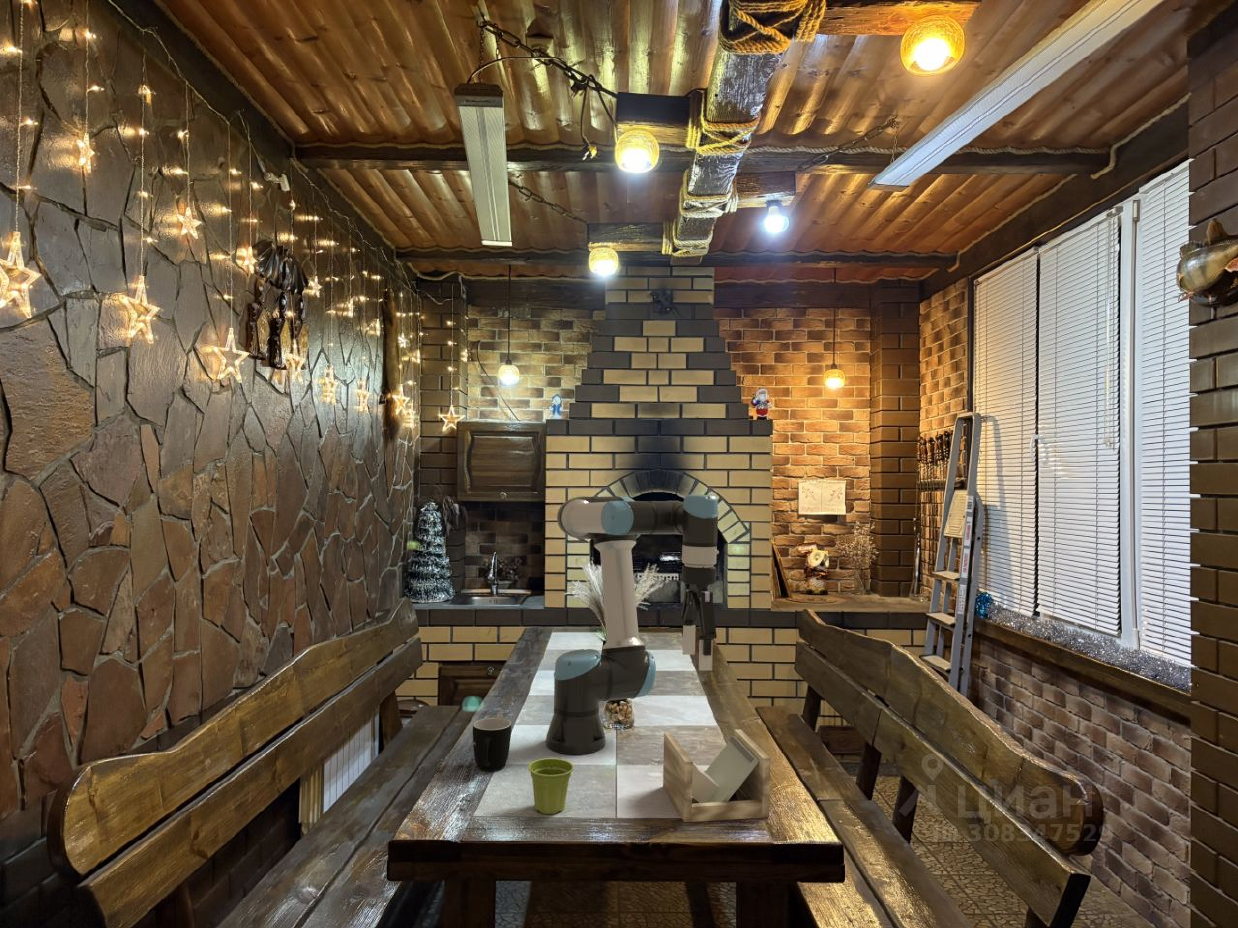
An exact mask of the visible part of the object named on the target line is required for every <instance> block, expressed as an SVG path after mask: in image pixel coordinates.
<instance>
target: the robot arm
mask: <svg viewBox="0 0 1238 928" xmlns="http://www.w3.org/2000/svg"><path fill="white" fill-rule="evenodd" d="M718 505H719V503H718V498H717V497H716V496H715V495H711V494H686V495H685V496H684V498H683V501H680V500H672V499H671V500H667V501H666V500H663V501H661V500H657V501H656V500H650V501H649V500H648V501H644V500H643V501H642V500H641V501H639V500H634V499H633V498H631V497H628V496H627V497H623V496H619V495H616V496H577V497H573V498H570V499H567V500H566V501H565V502H564V503H562V505H560V507H559V509H558V510H557V516H556V520H557V522H556V523H557V525H558V527H559V529H560V530H561V531H562V532H563V533H564V534H565V535H567V536H569V537H572V538H575V539H581V540H593V546H594V548H595V549H596V550H597V551H599V553H600V565H601V566H600V569H601V579H602V580H601V581H602V593H603V595H602V596H603V603H604V605H603V606H604V620H605V630H606V631H605V632H606V633H605V634H606V641H605V642H606V643H605V644H604V645H603V646H602V647H601V653H600V651H599V650H596V649H593V648H588V649H585V648H582V649H580V648H579V649H575V650H571V651H567V652H564V653H562V654H561V655H560V656H558V657H557V659H556V660H555V665H554V673H553V679H554V685H553V686H554V687H553V715H552V718H551V721H550V724H549V725H548V729H547V732H546V740H545V741H546V742H545V745H546V747H547V748H548V749H550V750H551V751H553V752H556V753H559V754H560V753H561V754H566V755H585V754H591V753H595V752H598V751H601V750H602V749H603V748H604V747H605V746H606V735H605V734H606V733H605V731H604V727H603V724H602V719H601V717H600V702H609V701H610V702H611V701H618V700H619V701H620V700H628V699H629V700H630V699H631V700H634V699H636V698H642V697H646V696H647V695H648V694H650V692H651V691H652V689H653V687H654V685H655V682H656V677H657V676H656V674H657V665H656V661H655V659H654V655H653V654H652V652H650V651H648V650H647V649H646V643H645V642H643V641H642V640H641V639H640V635H639V624H638V613H637V601H636V590H635V579H634V569H633V568H634V567H633V555H632V549H633V548H634V546H636V544H637V538H639V537H640V536H641V535H682V548H681V549H682V550H681V562H682V563H683V564H684V565H682V566H681V581H682V582H683V584H684V596H683V600H682V606H681V612H680V614H681V615H680V620H681V621H682V625H683V626H682V630H683V631H682V655H684V656H685V655H686V656H687V655H690V656H691V655H693V656H694V655H695V654H696V627H697V626H696V625H697V624H698V627H699V633H700V635H698V637H697V641H699V644H698V645H699V646H698V671H700V672H701V671H713V653H714V652H713V650H714V649H713V648H714V647H713V646H714V643H713V641H714V639H717V627H716V618H715V609H714V593H713V592H714V591H709V590H708V589H709V588H708V586H710V585H715V583H717V567H716V566H714V565H716V564H717V555H719V553H720V551H719V550H718V549H717V548H718V547H717V546H718V532H719V531H718V526H719V525H718V524H719V510H718V508H719V507H718ZM696 618H697V619H696Z"/></svg>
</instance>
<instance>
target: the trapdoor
mask: <svg viewBox="0 0 1238 928" xmlns="http://www.w3.org/2000/svg"><path fill="white" fill-rule="evenodd" d="M758 762H759V761H758V760H757V759H756V758H755V757H754V756H753V755H752V753H751V752H750V751H749V750H748V749H747V748H746V747H745V746H744V745H743V744H742V743H741V742H740V741H739V740H738V739H737V738H736V737H735V736H734V735H733V736H732V737H731V738H730V739H729V741H728V742H727V743H726V745H725V746H724V747H723V748H722V749H721V751H720V752H719V753H718V755H717V756H716V757H715V758H714V760H713V761H712V762H711V764H710V765H709V766H708V768H707V769H706V770H704V771H705V773H706V774H708V775H709V776H710V777H711V778H712V779H713V780H714V782H715V783H716V784H717V785H718V787H719V788H718V789H717V791H716V792H715V793H714V794H713V796H712V797H711V798H710V799H709V801H708V802H707V803H710V802H728V801H730V799H731V798H732V796H733V795H734V794H735V793H736V791H737V790H739V789H738V788H739V787H740V785H741V784H742V783H743V781H744V780H745V779H746V778H747V776H748V775H749V774H750V773H751V771H752V770H753V769H754V767H755V766H756V765H757V764H758Z"/></svg>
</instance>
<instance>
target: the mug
mask: <svg viewBox="0 0 1238 928" xmlns="http://www.w3.org/2000/svg"><path fill="white" fill-rule="evenodd" d="M511 736H512V722H511V721H510V720H509V719H505V718H501V717H487V718H482V719H481V718H480V719H478V720H476V721H474V722H473V724H472V744H473V745H472V746H473V756H474V761H475V765H476V767H477V769H478V770H480V771H482V772H491V773H492V772H497V771H501V770H502V769H504V768H505V767H506V764H507V762H508V758H509V753H510V747H511V746H510V745H511V739H512V738H511Z"/></svg>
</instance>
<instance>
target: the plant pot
mask: <svg viewBox="0 0 1238 928" xmlns="http://www.w3.org/2000/svg"><path fill="white" fill-rule="evenodd" d="M574 768H575V766H574V764H573V763H571V762H570V761H568V760H566V759H563V758H555V757H551V758H549V757H547V758H540V759H536V760H534V761H532V762H530V763H529V765H528V771H529V773H530V777H531V779H532V780H531V781H532V790H533V791H532V792H533V800H534V808H535V811H539V812H540V813H541V814H544V815H555V814H557V813H559V812H563V811H564V810H565V805H566V802H567V800H566V799H567V793H568V788H569V782H570V778H571V775H572V772H573V771H574V770H575V769H574Z"/></svg>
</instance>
